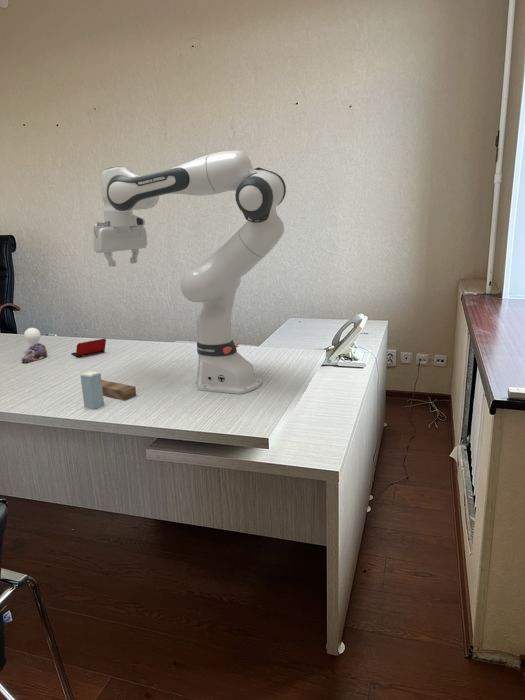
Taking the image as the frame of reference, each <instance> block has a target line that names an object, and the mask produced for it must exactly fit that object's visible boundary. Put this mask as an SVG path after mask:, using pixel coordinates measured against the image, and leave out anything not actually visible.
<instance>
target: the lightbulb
mask: <svg viewBox="0 0 525 700" xmlns="http://www.w3.org/2000/svg"><path fill="white" fill-rule="evenodd" d="M41 337H42V335H41V331H40V330H39V329H38V328H35V327H29V328H27V329H25V331H24V333H23V338H24V340H25V341H26V342H27V343H28V346H29V347H30V346H31V345H35V344H37V343H40V340H41Z"/></svg>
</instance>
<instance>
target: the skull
mask: <svg viewBox="0 0 525 700" xmlns="http://www.w3.org/2000/svg"><path fill="white" fill-rule="evenodd" d="M47 356H48V351H47V347H46V345H45V344H43V343H40V342H38V343H37V344H35V345H31V346H29V347H28V348H27V353H26V354H24V356H23V357H22V358H21V363H23V362H24V363H28V364H30V363H33V362H37V361H40V360H41V359H46V358H47Z"/></svg>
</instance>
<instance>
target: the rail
mask: <svg viewBox="0 0 525 700" xmlns="http://www.w3.org/2000/svg"><path fill="white" fill-rule="evenodd" d="M101 382H102V391H103V397H107V398H111V399H114V400H115V399H116V400H119V401H120V400H121V401H123V402H124V401H125V402H126V401H127V400H129V399H132V398H135V397H136V396H137V390H136V389H137V388H136V386H134V385H129V384H125V383H120V382H119V383H118V382H115V381H111V380H106V379H105V380H103V379H101Z"/></svg>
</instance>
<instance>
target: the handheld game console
mask: <svg viewBox="0 0 525 700" xmlns="http://www.w3.org/2000/svg"><path fill="white" fill-rule="evenodd" d="M106 342H107V340H106V338H100V339H95V340H89V341H84V342H79V343H77V345H76V349H75V352H71V354H70V355H71V356H73V357H75V358H81V357H85V356H92V355H96V354H101V353H106V351H105V350H106V344H107V343H106Z"/></svg>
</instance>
